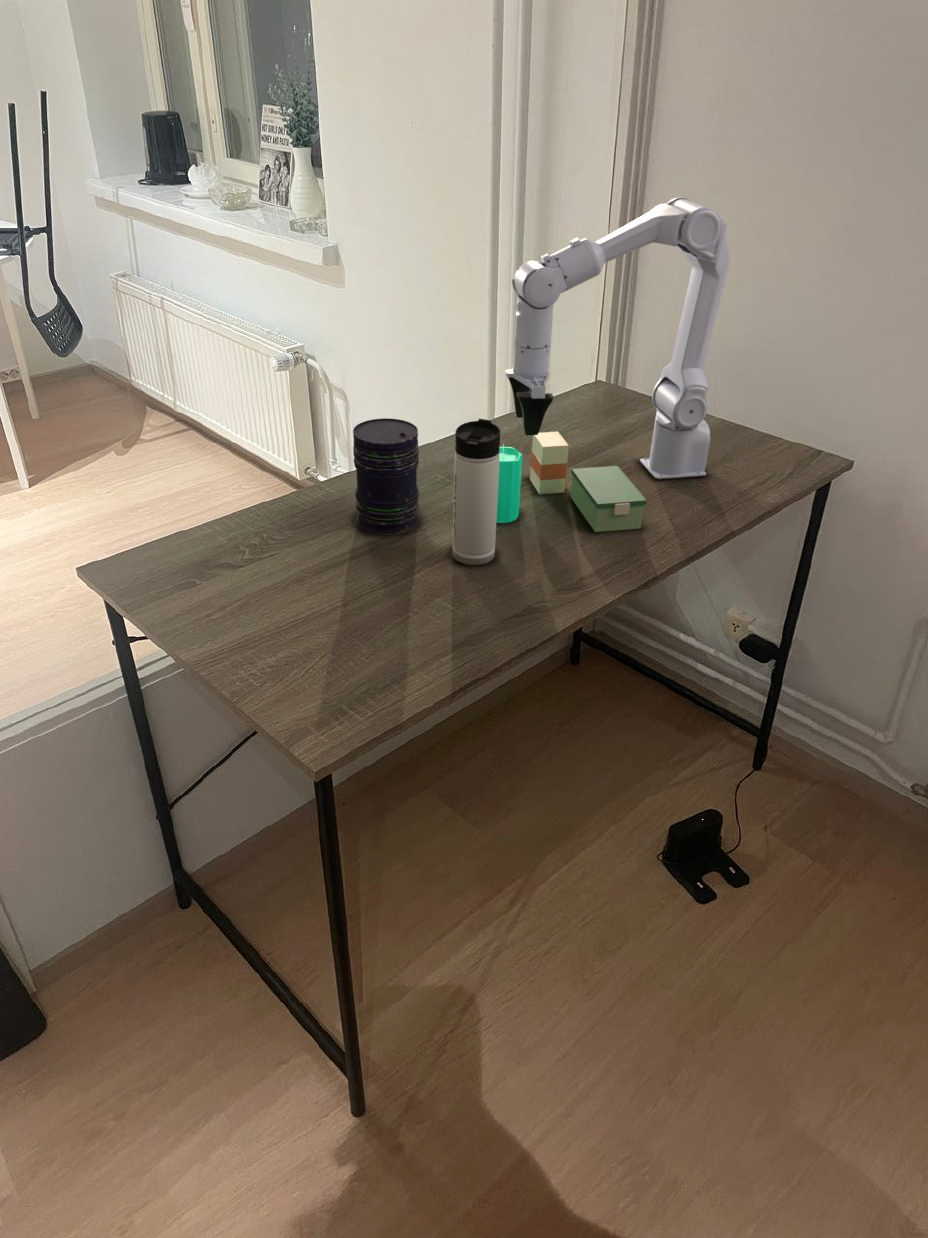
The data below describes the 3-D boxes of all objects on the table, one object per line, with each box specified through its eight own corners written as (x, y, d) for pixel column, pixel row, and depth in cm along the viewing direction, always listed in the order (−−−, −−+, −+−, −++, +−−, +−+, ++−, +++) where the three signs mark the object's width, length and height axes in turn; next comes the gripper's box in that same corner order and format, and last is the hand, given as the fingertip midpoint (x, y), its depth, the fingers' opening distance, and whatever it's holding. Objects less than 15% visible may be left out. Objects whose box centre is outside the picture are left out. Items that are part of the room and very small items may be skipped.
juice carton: (554, 477, 158) (558, 431, 153) (564, 492, 153) (569, 445, 148) (529, 479, 157) (532, 432, 152) (539, 494, 152) (542, 447, 147)
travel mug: (500, 548, 137) (507, 421, 125) (487, 569, 131) (493, 439, 120) (461, 540, 138) (464, 415, 127) (446, 561, 133) (448, 432, 122)
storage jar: (344, 526, 141) (339, 435, 133) (376, 501, 149) (373, 413, 140) (400, 540, 138) (399, 448, 129) (430, 514, 145) (430, 425, 137)
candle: (492, 526, 142) (496, 454, 136) (474, 510, 147) (477, 440, 140) (525, 518, 145) (530, 448, 138) (506, 503, 149) (510, 434, 142)
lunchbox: (613, 492, 154) (616, 464, 151) (643, 529, 143) (647, 501, 140) (568, 495, 152) (570, 468, 149) (594, 533, 141) (598, 504, 138)
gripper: (499, 330, 149) (496, 409, 156) (515, 358, 137) (510, 443, 144) (542, 329, 149) (536, 408, 157) (561, 357, 137) (554, 442, 145)
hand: (526, 425), depth 151 cm, fingers open, 7 cm apart
